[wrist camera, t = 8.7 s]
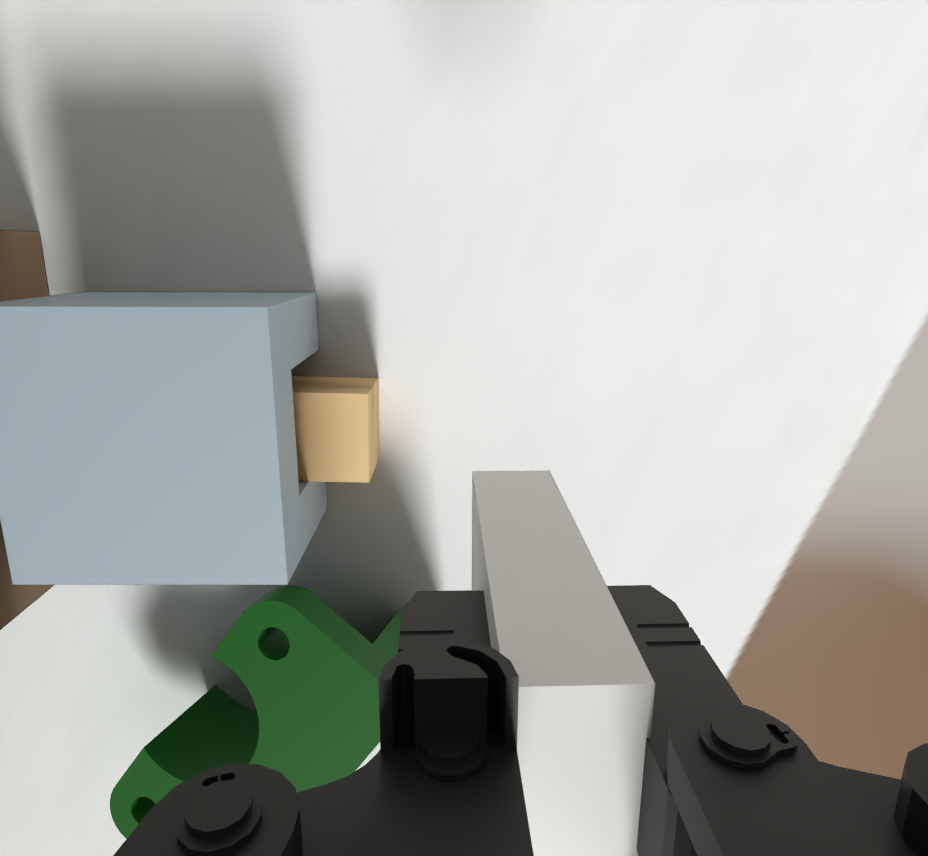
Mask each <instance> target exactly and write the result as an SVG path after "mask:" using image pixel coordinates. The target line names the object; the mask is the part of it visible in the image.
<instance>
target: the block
mask: <svg viewBox="0 0 928 856" xmlns="http://www.w3.org/2000/svg"><path fill="white" fill-rule="evenodd" d="M318 350H319V342H318V324H317V305H316V292H79V293H70V294H62V295H53V296H45V297H36V298H28V299H19V300H11V301H2V302H0V520H1V525H2V531H3V536H4V541H5V546H6V551H7V557H8V562H9V567H10V572H11V578H12V583H13V585H288V583H289V581H290V579H291V577H292V575H293V573H294V571H295V569H296V568H297V566H298V564H299V562H300V560H301V558H302V556H303V554H304V552H305V550H306V548H307V546H308V544H309V542H310V540H311V538H312V537H313V535H314V533H315V531H316V529H317V527H318V525H319V523H320V521H321V519H322V517H323V515H324V513H325V511H326V509H327V490H326V482H316V481H298V466H297V451H296V435H295V420H294V405H293V389H292V374H291V369H293V368H294V367H295V366H297V365H298V364H300V363H301V362H302V361H304V360H305V359H307V358H308V357H309V356H311V355H312V354H314V353H315V352H316V351H318Z"/></svg>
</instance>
